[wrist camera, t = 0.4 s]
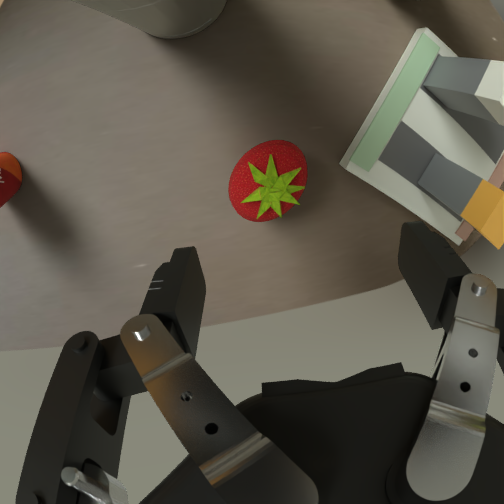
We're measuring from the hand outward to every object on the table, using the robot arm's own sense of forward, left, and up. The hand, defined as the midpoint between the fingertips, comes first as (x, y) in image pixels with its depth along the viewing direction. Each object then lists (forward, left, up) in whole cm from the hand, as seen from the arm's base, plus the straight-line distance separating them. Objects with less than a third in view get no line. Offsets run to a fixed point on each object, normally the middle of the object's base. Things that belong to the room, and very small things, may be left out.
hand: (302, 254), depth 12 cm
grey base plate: (+5, +21, -21) cm, 30 cm away
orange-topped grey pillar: (+8, +18, -18) cm, 27 cm away
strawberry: (+2, 0, -21) cm, 21 cm away
